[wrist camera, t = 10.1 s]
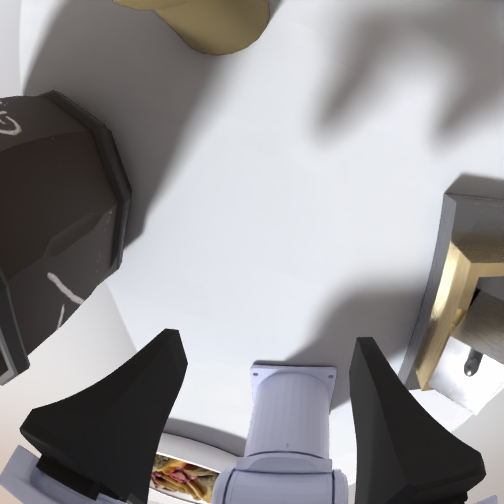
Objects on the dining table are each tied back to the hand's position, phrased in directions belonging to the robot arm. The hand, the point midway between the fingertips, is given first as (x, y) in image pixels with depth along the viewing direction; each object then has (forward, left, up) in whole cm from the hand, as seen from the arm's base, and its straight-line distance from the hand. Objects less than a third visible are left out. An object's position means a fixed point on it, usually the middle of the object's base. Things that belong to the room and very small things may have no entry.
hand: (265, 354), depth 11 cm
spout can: (-5, -17, -7) cm, 19 cm away
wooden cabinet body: (-5, -18, -10) cm, 21 cm away
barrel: (+5, +19, -11) cm, 22 cm away
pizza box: (-43, +16, -11) cm, 47 cm away
